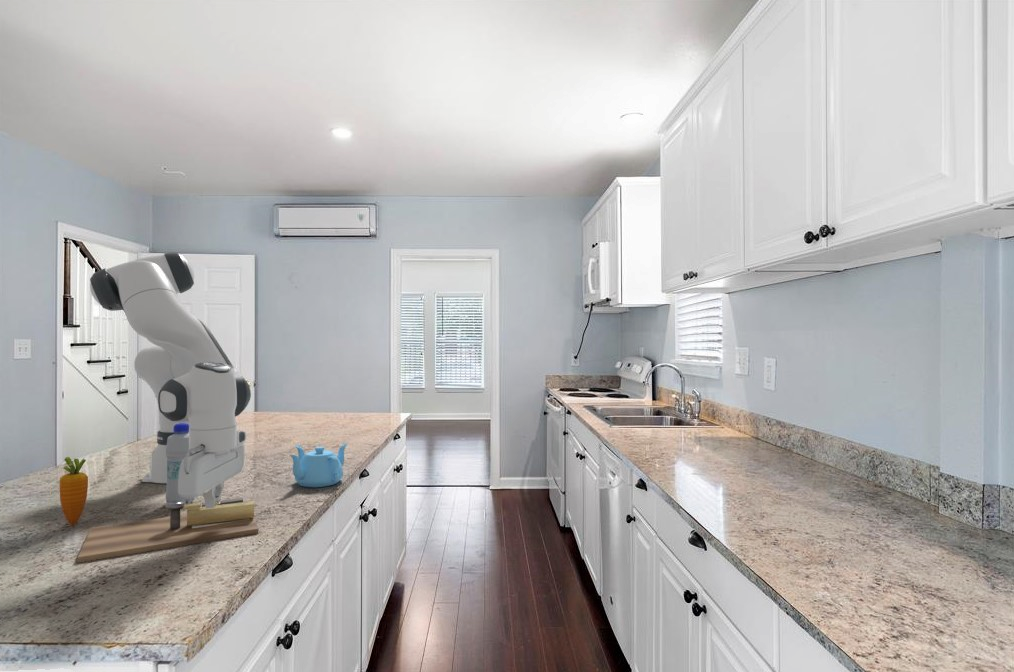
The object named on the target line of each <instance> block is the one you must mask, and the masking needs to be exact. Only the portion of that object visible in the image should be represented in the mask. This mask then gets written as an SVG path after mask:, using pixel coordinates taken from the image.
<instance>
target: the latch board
mask: <svg viewBox="0 0 1014 672" xmlns="http://www.w3.org/2000/svg"><path fill="white" fill-rule="evenodd" d="M241 502H244V499H243V497H238V498H231V499H223V500H222V499H221V502H220V503H219V504H218V505H223V504H232V503H241ZM201 507H205V502H201ZM169 512H170V516H166V517H158V518H152V519H144V520H136V521H129V522H124V523H123V522H122V523H116V524H108V525H102V526H94V527H91V528H90V530H89V533H88V534H87V537H86V538H85V541H84V543H83V545H82V547H81V549H80V552H79V553H78V555H77V563H85V561H86V562H91V560H92V561H97V560H96V559H98V560H103V558H104V559H110V558H115V556H116V557H121V556H128V555H134V554H140V553H146V552H151V550H153V551H158V549H159V550H164V548H165V549H169V548H170V547H171V548H177V547H183V546H189V545H188V544H190V545H196V544H200V543H201V542H202V543H206V542H215V541H220V540H225V539H230V538H231V539H232V538H237V537H244V536H250V535H257V534H259V531H260V530H259V529H260V528H259V525H258V524H257V522H256V519H255V517H254V518H247V519H239V520H231V521H223V522H215V523H207V524H199V525H190V526H187V514H181V509H178V510H169ZM195 543H196V544H195ZM171 548H170V549H171ZM109 557H110V558H109Z"/></svg>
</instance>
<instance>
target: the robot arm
mask: <svg viewBox="0 0 1014 672" xmlns="http://www.w3.org/2000/svg"><path fill="white" fill-rule="evenodd" d="M89 281H90V283H89V284H90V285H89V288H90V293H91V295H92V297H93V299H94V300H95V301H96V303H98V304H99V305H100V306H101V307H102V308H103V309H105V310H107V311H110V312H111V311H112V312H113V311H116V312H117V311H124V314H125V317H126V320H127V322H128V324H129V325H130V327H131V328H132V329H133V330H134V331H135V333H136V334H138V335H139V336H141V337H143V338H145V339H147V341H149V342H150V343H152V344H153V345H155V346H150V347H145V348H143V349H141V350H139V352H138V353H137V355H136V356H135V359H134V363H133V366H134V370H135V373H136V375H137V376H138V377H139V378H140V379H141V380H143V381H144V382H145V383H147V385H148V386H149V388H150V389H151V390H152V392H153V394H154V395H155V397H156V398H155V399H156V402H157V405H158V422H159V423H158V431H157V432H156V443H157V446H156V447H155V448H154V449H153V450H152V451H151V452H150V455H149V456H150V457H149V459H150V460H149V461H150V465H149V472H148V473H146V475H144V476H143V477H142V478H141V482H142V483H153V484H154V483H155V484H167V457H166V445H167V439H168V437H169V436H171V435H173V434H175V433H174V426H175V425H176V424H179V423H187V424H188V425H189V432H188V433H189V451H188V452H187V455H186V457H185V458H184V459H183V460H182V462H181V465H180V470H179V479H178V494H179V496H180V497H182V498H194V499H195V498H198V497H200V496H202V497H203V499H204V503H205V507H206V508H213V507H215V506H216V505H218V504H219V503H220V502H221V501H222V494H223V491H224V488H225V482H227V480H229V479H231V478H233V477H234V476H236V475H239V474H240V473H241V472H242V471H243V467H244V465H245V444H244V442H245V441H246V440H247V432H246V430H242V429H238V426H237V425H238V422H237V419H236V417H238V416H239V415H240V414H242V412H243V411H245V409H246V408H247V406H248V405H249V403H250V401H251V398H252V397H251V396H252V393H251V388H250V385H249V383H248V382H247V380H246V379H245V377H243V375H241V373H240V372H239V371H238V370H237V369H236V368H235V366H234V365H233V364H232V362H231V361H230V359H229V358H228V356H227V354H226V353H225V351H224V350H223V347H222V346H221V345H220V344H219V342H218V340H217V339H216V338H215V335H214V334H213V333H212V332H211V330H210V328H208V326H207V325H206V323H204V322H203V321H201V319H198V318H197V317H195V315H193V314H192V313H191V312H190V311H189V310H188V309H187V308H186V306H184V304H183V303H182V301H181V299H180V298H179V296H178V294H183V293H185V292H187V291H189V290H190V289H192V287H193V286H194V285H195V282H194V281H195V272H194V269H193V266H192V265H191V263H190V262H189V260H187V259H186V258H185V257H184V255H182V254H180V253H178V252H167V253H166V252H165V253H164V254H160V255H152V256H145V257H140V258H136V259H135V260H131V261H127V262H125V263H121V264H117V265H114V266H112V267H108V268H106V267H105V268H102V269H99V270H97V271H95V272H93V274H92V275H91V277H90V279H89Z"/></svg>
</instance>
